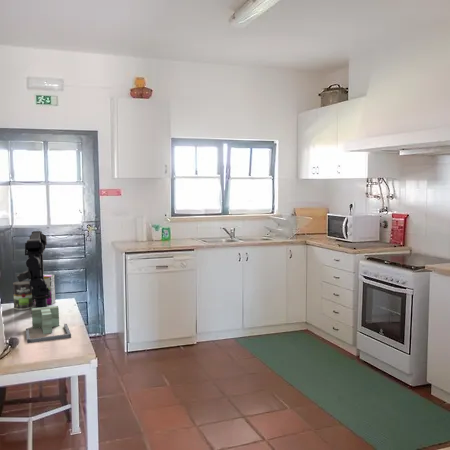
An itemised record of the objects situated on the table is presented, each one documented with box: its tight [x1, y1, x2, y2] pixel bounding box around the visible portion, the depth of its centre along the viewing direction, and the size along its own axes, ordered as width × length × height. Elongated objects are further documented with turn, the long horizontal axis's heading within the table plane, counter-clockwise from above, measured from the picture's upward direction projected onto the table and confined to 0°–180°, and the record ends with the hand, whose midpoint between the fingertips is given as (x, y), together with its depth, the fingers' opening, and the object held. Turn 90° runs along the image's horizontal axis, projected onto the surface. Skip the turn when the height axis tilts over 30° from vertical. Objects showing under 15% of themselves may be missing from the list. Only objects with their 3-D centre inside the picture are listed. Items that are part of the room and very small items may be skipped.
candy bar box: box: [33, 274, 56, 305], centre depth 285 cm, size 11×5×16 cm, turn 84°
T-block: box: [31, 305, 60, 335], centre depth 238 cm, size 14×12×9 cm
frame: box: [25, 323, 72, 344], centre depth 230 cm, size 18×18×2 cm
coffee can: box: [12, 280, 35, 311], centre depth 277 cm, size 10×10×14 cm
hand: (36, 296), depth 249 cm, fingers closed
